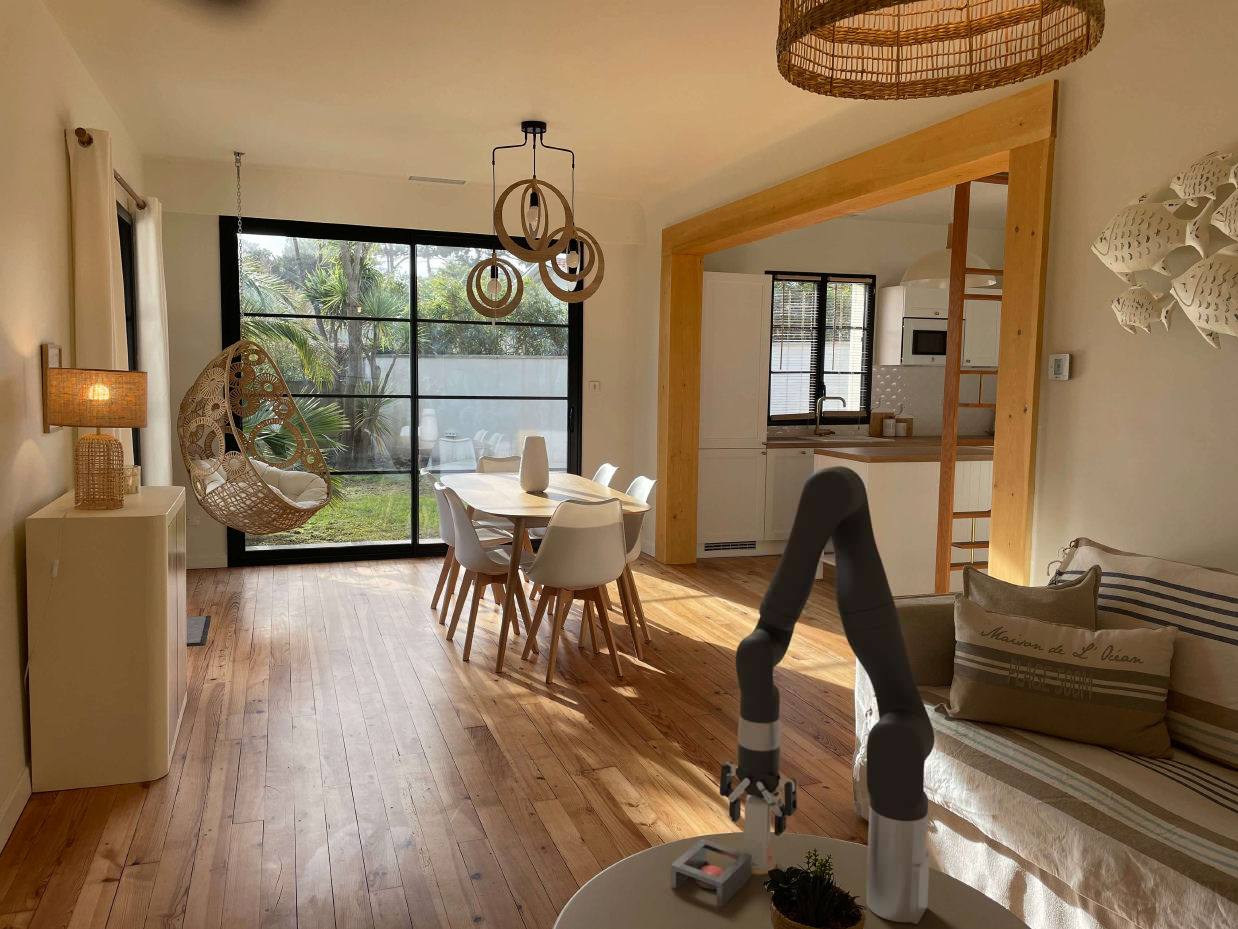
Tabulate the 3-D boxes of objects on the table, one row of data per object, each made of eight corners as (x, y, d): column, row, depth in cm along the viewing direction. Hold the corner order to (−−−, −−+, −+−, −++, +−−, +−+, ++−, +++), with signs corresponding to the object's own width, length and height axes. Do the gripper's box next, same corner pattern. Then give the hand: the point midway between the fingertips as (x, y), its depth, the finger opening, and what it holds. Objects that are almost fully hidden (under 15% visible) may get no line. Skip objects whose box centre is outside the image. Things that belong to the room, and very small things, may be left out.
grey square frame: (751, 876, 155) (751, 855, 155) (721, 906, 146) (722, 883, 146) (701, 859, 161) (702, 838, 161) (670, 887, 152) (671, 864, 152)
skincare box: (766, 871, 156) (768, 807, 155) (742, 867, 157) (744, 803, 156) (770, 854, 162) (772, 792, 161) (747, 850, 163) (749, 788, 162)
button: (733, 878, 154) (733, 870, 154) (717, 893, 150) (718, 885, 150) (705, 868, 158) (705, 860, 157) (689, 882, 153) (689, 874, 153)
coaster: (781, 861, 160) (781, 858, 160) (765, 879, 155) (765, 876, 155) (747, 850, 164) (747, 847, 164) (730, 866, 159) (730, 863, 159)
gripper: (804, 743, 157) (801, 830, 158) (733, 725, 165) (731, 808, 166) (787, 757, 150) (784, 847, 152) (714, 738, 158) (712, 824, 160)
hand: (756, 826), depth 159 cm, fingers open, 8 cm apart
